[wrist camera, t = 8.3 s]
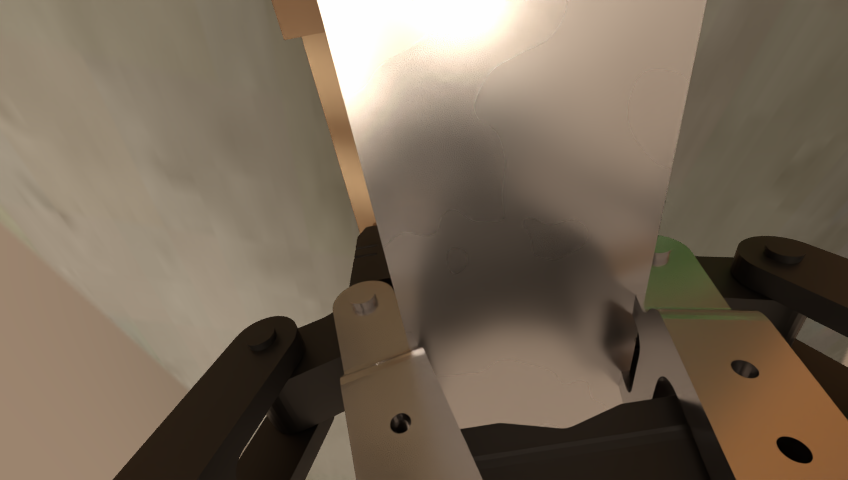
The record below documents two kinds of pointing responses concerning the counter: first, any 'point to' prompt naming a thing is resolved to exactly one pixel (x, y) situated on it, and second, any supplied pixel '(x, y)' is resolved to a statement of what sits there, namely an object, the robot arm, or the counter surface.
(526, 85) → the pale beige plank
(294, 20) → the rack
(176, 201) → the counter surface
